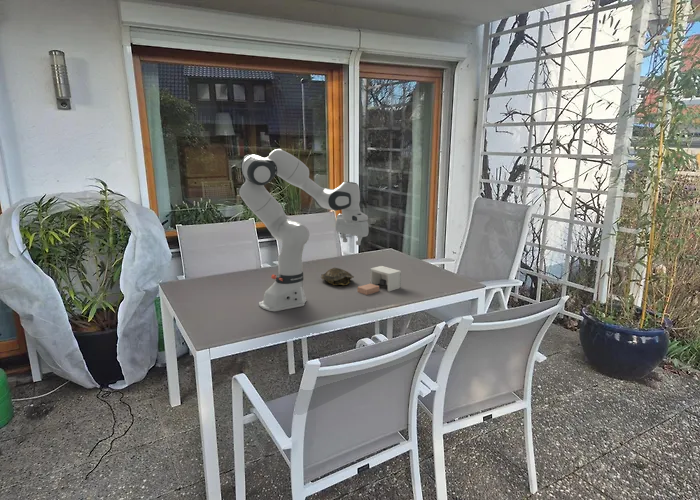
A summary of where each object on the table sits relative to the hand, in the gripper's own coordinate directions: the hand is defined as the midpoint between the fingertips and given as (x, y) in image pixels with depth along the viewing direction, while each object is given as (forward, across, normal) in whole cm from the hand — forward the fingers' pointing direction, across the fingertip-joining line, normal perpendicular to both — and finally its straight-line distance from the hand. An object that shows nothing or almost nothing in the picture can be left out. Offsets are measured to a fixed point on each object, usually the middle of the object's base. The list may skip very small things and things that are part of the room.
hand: (351, 243), depth 215 cm
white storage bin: (+26, +3, +20) cm, 33 cm away
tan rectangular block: (+26, +3, +8) cm, 28 cm away
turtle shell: (+26, -21, +8) cm, 34 cm away
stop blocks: (+26, +3, +22) cm, 35 cm away
